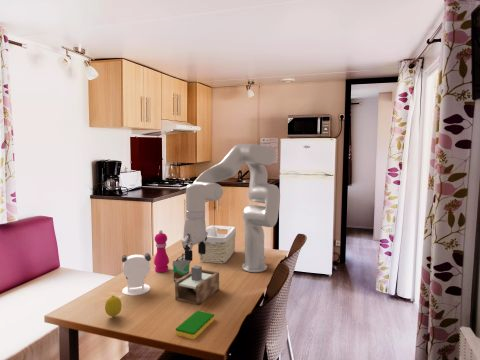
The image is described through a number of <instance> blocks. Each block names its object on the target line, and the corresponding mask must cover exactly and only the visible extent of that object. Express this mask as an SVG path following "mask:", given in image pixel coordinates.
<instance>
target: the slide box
mask: <svg viewBox="0 0 480 360" xmlns="http://www.w3.org/2000/svg"><path fill="white" fill-rule="evenodd" d="M202 273H206V274H212V275H211V276H210V277H208V278H207V279H205V280H204V281H202V282H201V283H199V284H198V285H196V289H193V288H188V287H183V286H179V283H180V282H182V281H184V280H185V279H187V278H188V277H190V276H192V273H191V271H189V273H188V274H187V275H185V276H183V277H182V278H180V279H178V280H177V281H175V282H174V290H175V291H174V294H175V296H174V297H175V298H174V299H175V301H179V302H184V303H188V304H189V303H190V304H192V305H198V306H200V305H201V304H202V303H204V302H205V301H207V300H208V299H209V298H210V297H212V296H213V295H214V294H215V293H217V292H218V291H219V290H220V272H218V271H214V270H213V271H212V270H209V269H208V270H207V269H203V268H202Z"/></svg>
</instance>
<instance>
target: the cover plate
mask: <svg viewBox="0 0 480 360" xmlns="http://www.w3.org/2000/svg"><path fill="white" fill-rule="evenodd" d="M202 269H203V267H202V266H201V265H193V266H192V267H191V270H190V272H191V273H192V276H190V277H188V278H187V279H185V280H184V281H182V282H180V283H179V286H183V287H188V288H193V289H196V285H198V284H199V283H201V282H202V281H204V280H205V279H207V278H208V277H210V276H211V275H212V274H206V273H202Z"/></svg>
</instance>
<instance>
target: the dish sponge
mask: <svg viewBox="0 0 480 360" xmlns="http://www.w3.org/2000/svg"><path fill="white" fill-rule="evenodd" d="M214 321H215V314H214V313H209V312H205V311H201V310H196V311H195V312H194V313H192V314H191V315H190V316H189V317H188V318H187V319H185V320H184V321H183V322H182V323H181V324H179V325H178V326H177V327H176V328H175V335H176V336H180V337H183V338H188V339H191V340H195V339H196V338H197V337H198V336H199V335H200V334H202V333H203V331H205V330H206V329H207V327H209V326H210V325H211V324H212V323H213V322H214Z"/></svg>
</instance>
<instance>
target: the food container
mask: <svg viewBox="0 0 480 360" xmlns="http://www.w3.org/2000/svg"><path fill="white" fill-rule="evenodd" d="M191 262H192V261H189V260H185V252H184V253H183V252H181V255H180V257H177V259H175V260H173V261H172V269H173V270H172V272H173V282H174V283H175V281H177V280H178V279H180V278H182V277H183V276H185V275H187V274H188V273H190V265H191Z"/></svg>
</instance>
